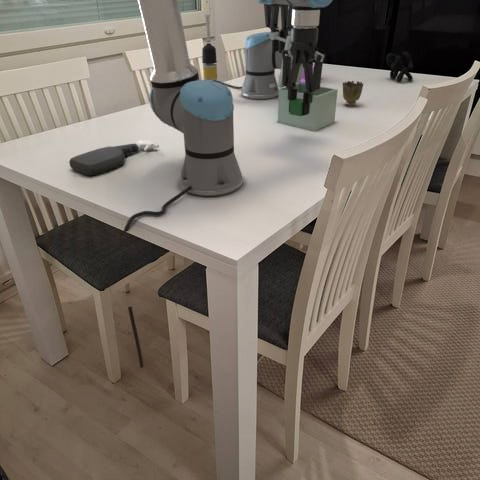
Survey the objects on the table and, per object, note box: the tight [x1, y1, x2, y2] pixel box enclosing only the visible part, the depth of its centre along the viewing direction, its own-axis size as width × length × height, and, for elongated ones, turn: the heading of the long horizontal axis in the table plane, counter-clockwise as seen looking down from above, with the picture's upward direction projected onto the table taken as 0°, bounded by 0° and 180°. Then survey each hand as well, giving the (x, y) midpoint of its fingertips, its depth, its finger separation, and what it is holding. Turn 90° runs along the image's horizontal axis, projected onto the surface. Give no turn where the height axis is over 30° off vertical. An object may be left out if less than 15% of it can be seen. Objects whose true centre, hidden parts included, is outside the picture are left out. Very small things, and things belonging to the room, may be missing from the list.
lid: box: [269, 30, 304, 89], centre depth 146 cm, size 16×12×9 cm
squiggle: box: [385, 51, 414, 83], centre depth 198 cm, size 11×10×15 cm
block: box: [290, 98, 303, 116], centre depth 133 cm, size 4×4×4 cm
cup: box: [342, 80, 364, 107], centre depth 165 cm, size 7×7×8 cm
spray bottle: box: [68, 139, 160, 177], centre depth 124 cm, size 3×11×24 cm
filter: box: [201, 14, 218, 82], centre depth 171 cm, size 6×6×30 cm
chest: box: [277, 82, 338, 132], centre depth 148 cm, size 15×12×11 cm
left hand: (298, 112), depth 133 cm, fingers closed on block, 4 cm apart
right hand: (278, 51), depth 147 cm, fingers closed on lid, 2 cm apart
